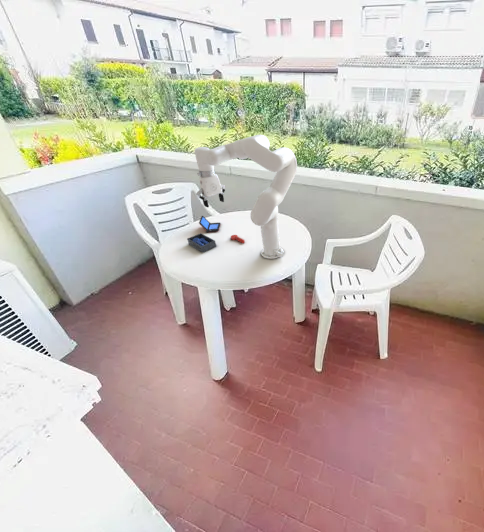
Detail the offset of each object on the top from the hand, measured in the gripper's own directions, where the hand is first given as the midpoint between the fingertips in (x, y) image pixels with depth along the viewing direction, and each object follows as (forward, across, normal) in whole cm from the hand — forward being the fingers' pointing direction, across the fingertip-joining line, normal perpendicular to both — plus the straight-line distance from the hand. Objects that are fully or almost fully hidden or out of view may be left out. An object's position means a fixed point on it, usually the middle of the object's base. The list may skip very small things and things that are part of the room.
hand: (214, 204), depth 156 cm
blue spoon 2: (+26, -7, +9) cm, 28 cm away
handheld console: (+27, +8, +25) cm, 38 cm away
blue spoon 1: (+25, -10, +10) cm, 29 cm away
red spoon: (+26, +9, -2) cm, 28 cm away
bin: (+26, -8, +10) cm, 29 cm away
